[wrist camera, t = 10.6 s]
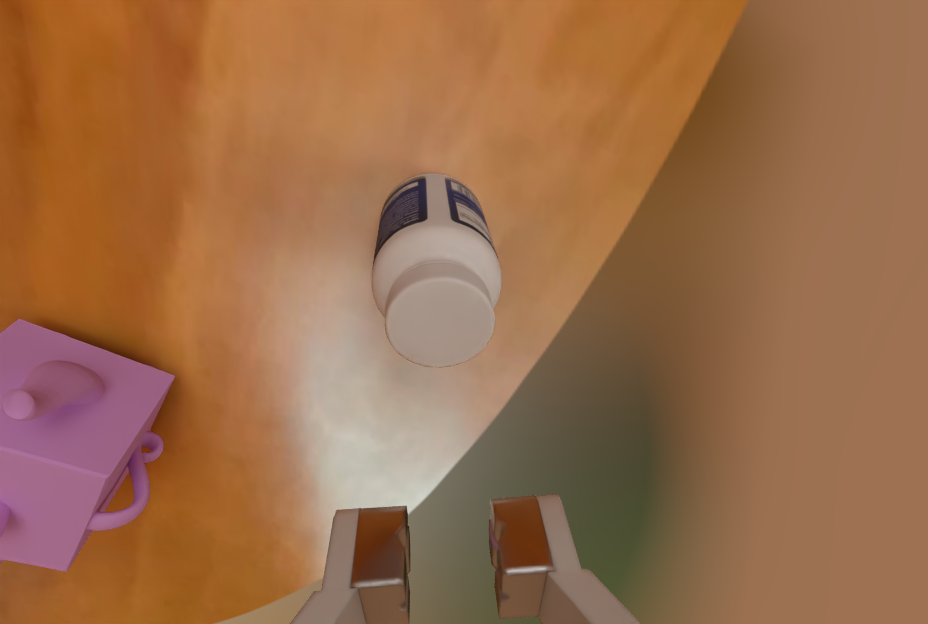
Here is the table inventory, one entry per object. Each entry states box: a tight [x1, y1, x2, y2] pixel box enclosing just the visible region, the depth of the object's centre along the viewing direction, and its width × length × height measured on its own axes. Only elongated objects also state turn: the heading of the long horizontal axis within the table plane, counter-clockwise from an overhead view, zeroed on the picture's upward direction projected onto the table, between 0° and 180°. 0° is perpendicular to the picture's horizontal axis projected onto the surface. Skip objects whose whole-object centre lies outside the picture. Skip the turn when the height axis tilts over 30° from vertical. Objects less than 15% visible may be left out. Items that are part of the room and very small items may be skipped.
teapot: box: [0, 319, 175, 572], centre depth 24 cm, size 18×13×10 cm
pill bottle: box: [372, 173, 502, 367], centre depth 20 cm, size 5×5×10 cm
